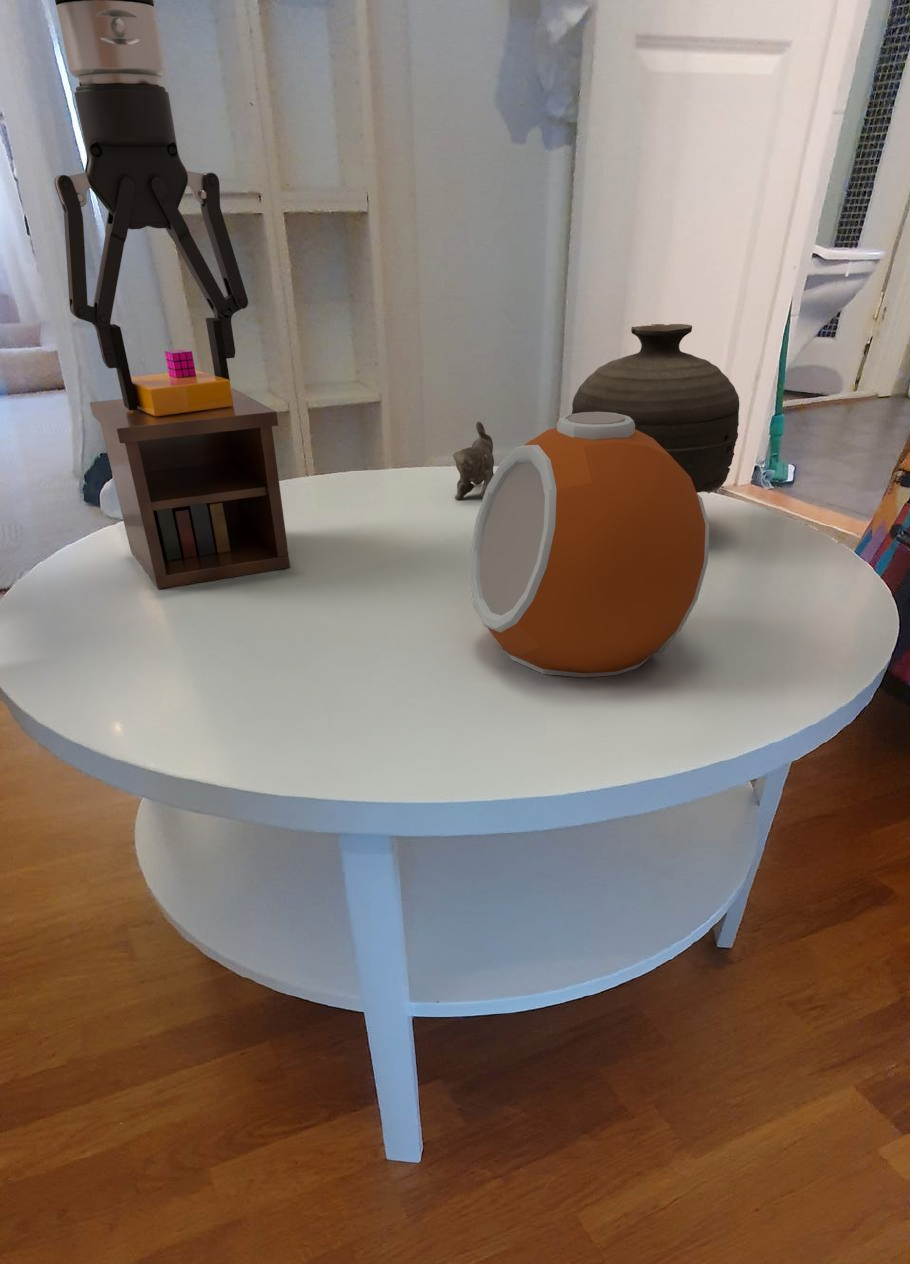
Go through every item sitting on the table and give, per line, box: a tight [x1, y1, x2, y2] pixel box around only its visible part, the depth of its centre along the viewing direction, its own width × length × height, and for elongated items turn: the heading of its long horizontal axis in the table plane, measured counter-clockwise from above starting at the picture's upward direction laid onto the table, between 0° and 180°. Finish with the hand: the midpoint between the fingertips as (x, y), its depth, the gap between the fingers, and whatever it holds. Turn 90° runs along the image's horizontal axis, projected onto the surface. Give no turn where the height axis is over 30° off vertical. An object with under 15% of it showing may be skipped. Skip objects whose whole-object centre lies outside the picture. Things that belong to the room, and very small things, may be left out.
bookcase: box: [89, 387, 291, 590], centre depth 94 cm, size 15×15×14 cm
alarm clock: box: [468, 412, 710, 678], centre depth 73 cm, size 19×18×17 cm
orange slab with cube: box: [131, 348, 233, 417], centre depth 88 cm, size 8×8×4 cm
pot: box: [571, 323, 740, 494], centre depth 97 cm, size 18×18×20 cm
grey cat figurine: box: [452, 421, 495, 501], centre depth 114 cm, size 12×6×7 cm, turn 170°
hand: (178, 402), depth 89 cm, fingers closed on orange slab with cube, 9 cm apart
